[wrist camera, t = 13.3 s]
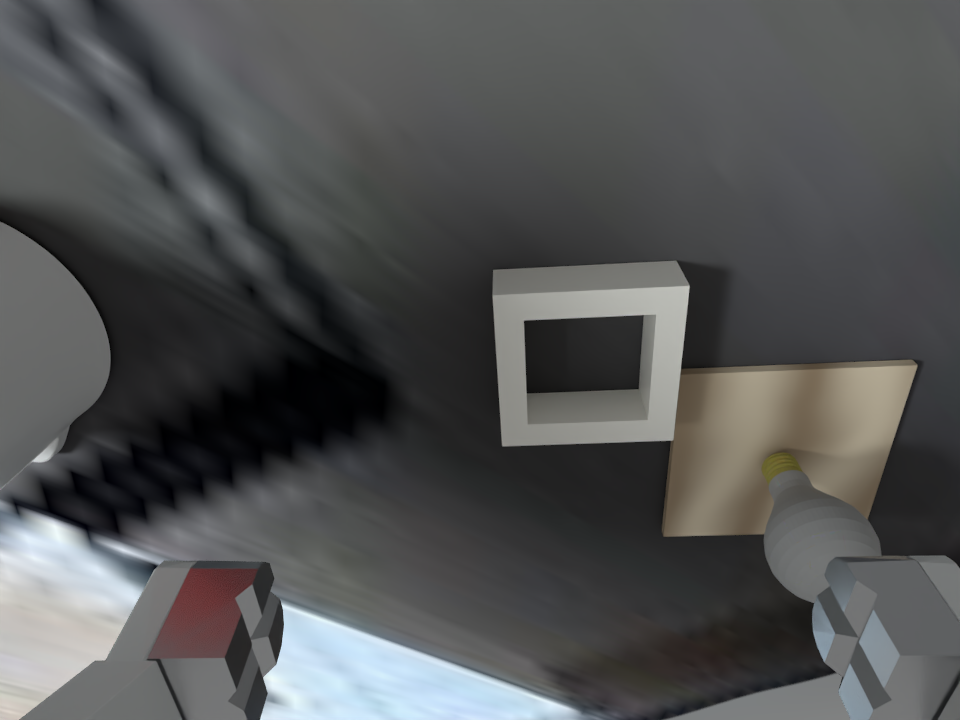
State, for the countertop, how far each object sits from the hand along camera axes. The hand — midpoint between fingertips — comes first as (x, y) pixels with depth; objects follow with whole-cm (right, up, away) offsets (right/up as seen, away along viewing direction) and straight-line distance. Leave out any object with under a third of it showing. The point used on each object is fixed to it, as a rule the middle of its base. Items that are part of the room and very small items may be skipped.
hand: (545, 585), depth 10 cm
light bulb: (+17, -3, +32) cm, 36 cm away
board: (+17, -2, +32) cm, 37 cm away
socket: (+5, +4, +28) cm, 29 cm away
